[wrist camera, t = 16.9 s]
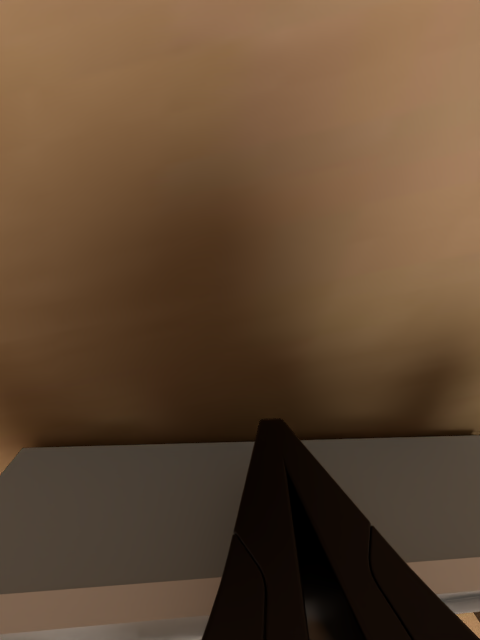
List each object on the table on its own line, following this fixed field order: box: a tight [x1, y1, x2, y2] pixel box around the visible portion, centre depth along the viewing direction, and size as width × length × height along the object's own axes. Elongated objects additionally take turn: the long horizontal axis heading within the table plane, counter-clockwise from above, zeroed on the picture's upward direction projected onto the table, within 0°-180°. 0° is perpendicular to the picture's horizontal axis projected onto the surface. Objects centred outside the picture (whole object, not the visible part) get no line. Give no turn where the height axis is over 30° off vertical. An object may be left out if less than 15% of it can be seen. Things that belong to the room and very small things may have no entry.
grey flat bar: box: [0, 435, 480, 640], centre depth 8 cm, size 18×1×4 cm, turn 87°
